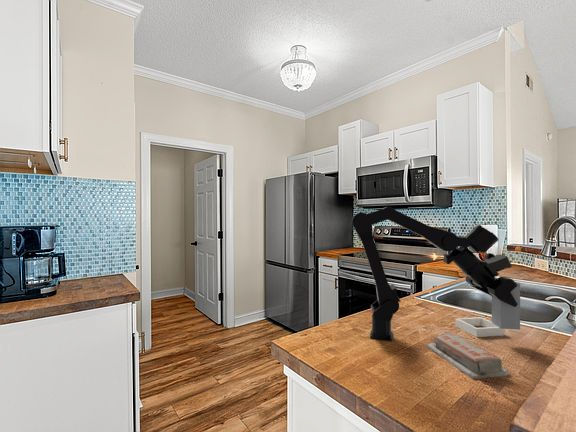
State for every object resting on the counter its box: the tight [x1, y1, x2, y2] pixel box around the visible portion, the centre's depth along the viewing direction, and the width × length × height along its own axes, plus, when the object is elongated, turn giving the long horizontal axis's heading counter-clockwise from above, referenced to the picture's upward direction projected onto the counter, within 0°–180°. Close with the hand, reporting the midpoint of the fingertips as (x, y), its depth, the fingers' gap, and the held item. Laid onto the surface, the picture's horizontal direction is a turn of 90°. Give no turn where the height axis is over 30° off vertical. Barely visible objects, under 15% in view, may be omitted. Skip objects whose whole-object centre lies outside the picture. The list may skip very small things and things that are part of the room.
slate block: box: [491, 281, 521, 330], centre depth 89 cm, size 5×5×13 cm
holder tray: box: [455, 316, 506, 338], centre depth 99 cm, size 10×10×2 cm
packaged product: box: [425, 331, 509, 380], centre depth 80 cm, size 18×5×10 cm
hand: (510, 303), depth 89 cm, fingers closed on slate block, 5 cm apart
